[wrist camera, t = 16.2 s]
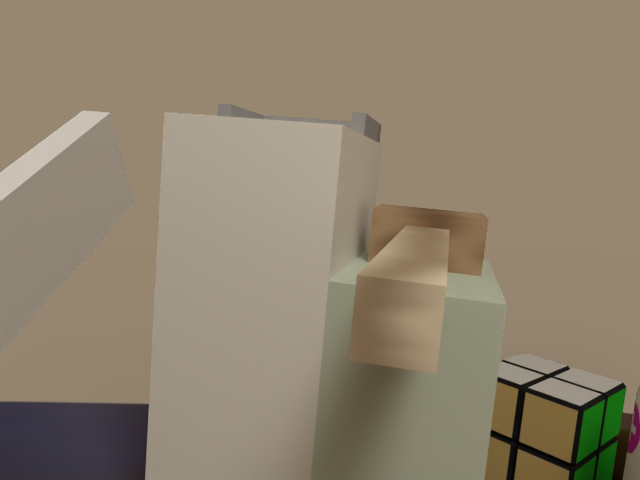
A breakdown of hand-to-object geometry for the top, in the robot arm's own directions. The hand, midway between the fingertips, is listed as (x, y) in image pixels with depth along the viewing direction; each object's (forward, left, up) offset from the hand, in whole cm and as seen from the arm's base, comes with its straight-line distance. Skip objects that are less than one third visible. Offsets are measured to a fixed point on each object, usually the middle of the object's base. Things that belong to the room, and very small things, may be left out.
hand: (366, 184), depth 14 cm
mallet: (+1, +19, -6) cm, 20 cm away
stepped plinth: (-5, +28, -26) cm, 38 cm away
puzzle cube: (+12, +40, -26) cm, 49 cm away
